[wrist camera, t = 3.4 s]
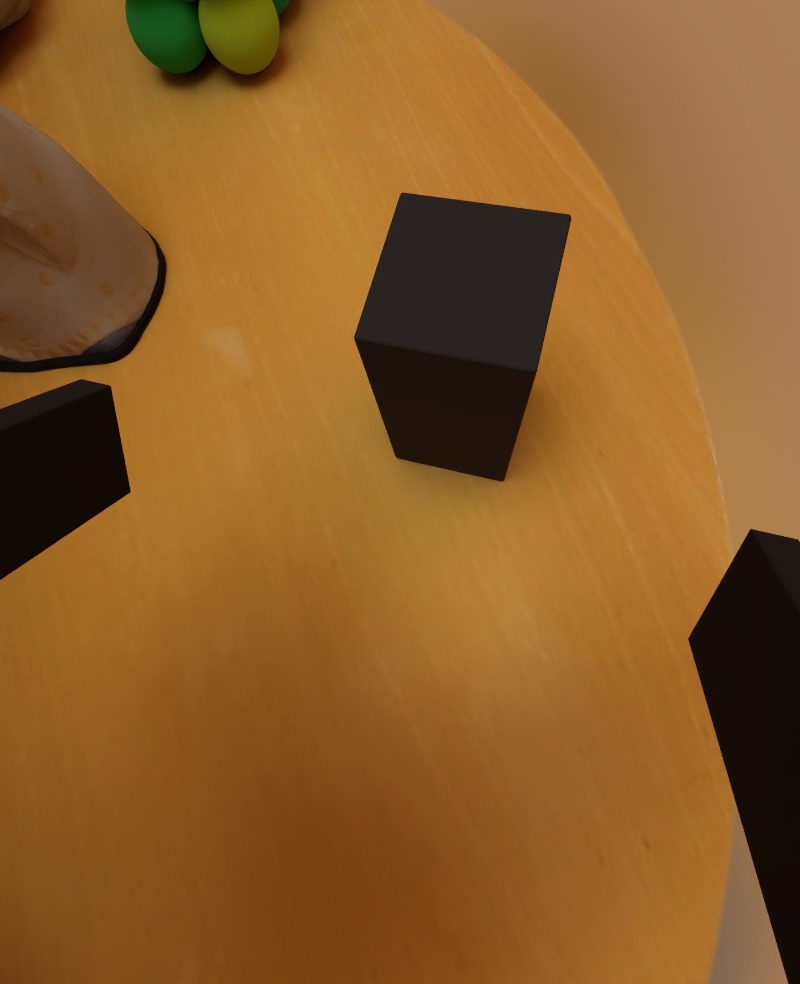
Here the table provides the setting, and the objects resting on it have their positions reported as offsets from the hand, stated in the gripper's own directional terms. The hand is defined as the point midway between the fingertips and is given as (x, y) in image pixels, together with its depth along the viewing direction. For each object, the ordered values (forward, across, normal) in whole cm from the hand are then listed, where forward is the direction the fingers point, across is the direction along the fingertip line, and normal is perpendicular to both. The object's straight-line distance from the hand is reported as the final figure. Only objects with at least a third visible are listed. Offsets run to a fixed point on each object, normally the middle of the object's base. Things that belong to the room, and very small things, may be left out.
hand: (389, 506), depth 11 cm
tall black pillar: (+14, 0, -3) cm, 14 cm away
